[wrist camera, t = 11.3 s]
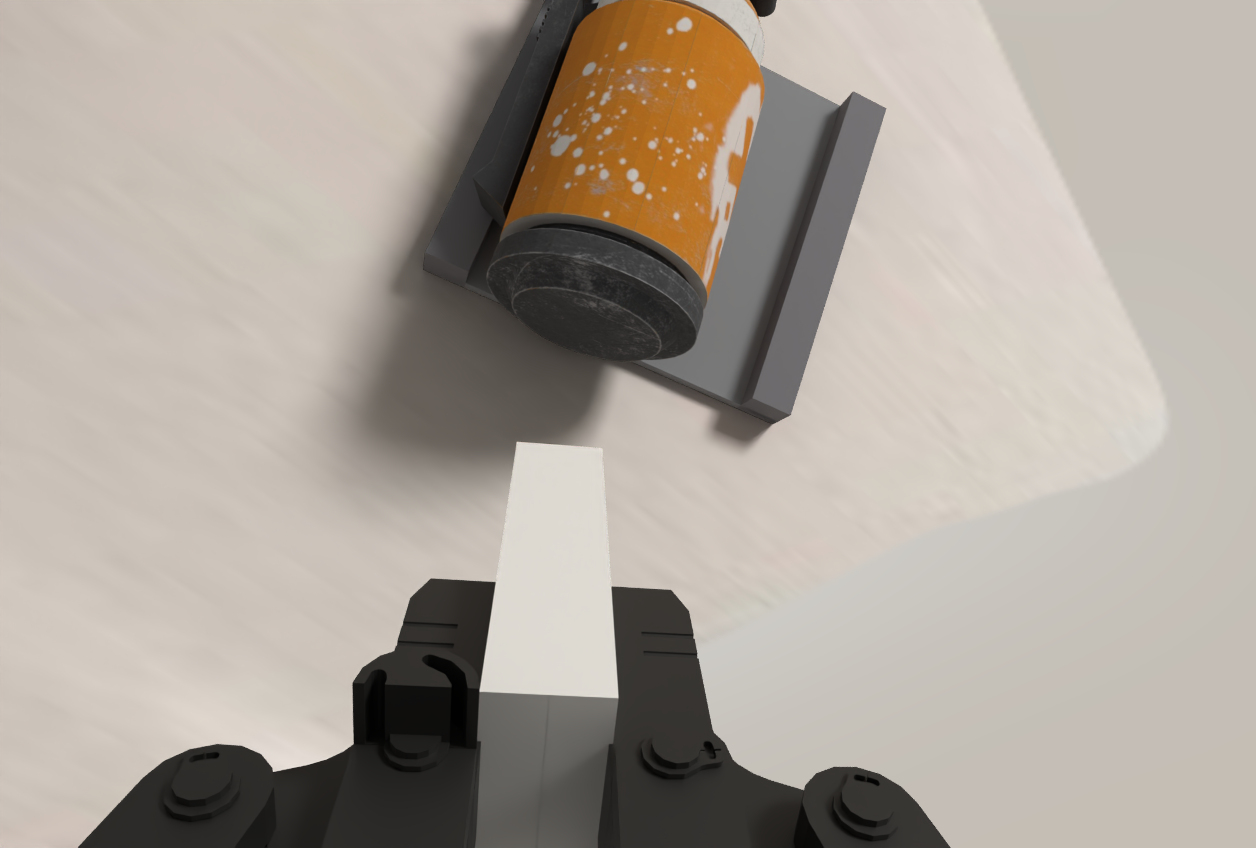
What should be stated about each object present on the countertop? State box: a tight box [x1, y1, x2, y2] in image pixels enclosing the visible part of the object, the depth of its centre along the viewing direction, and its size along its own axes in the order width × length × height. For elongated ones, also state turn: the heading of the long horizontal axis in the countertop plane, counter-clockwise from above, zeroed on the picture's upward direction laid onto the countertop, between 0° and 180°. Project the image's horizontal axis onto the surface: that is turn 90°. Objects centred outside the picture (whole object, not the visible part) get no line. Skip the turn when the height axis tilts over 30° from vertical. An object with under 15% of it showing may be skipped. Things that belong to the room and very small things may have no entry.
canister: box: [472, 0, 777, 361], centre depth 39 cm, size 9×11×20 cm
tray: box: [423, 0, 886, 424], centre depth 44 cm, size 18×18×2 cm
